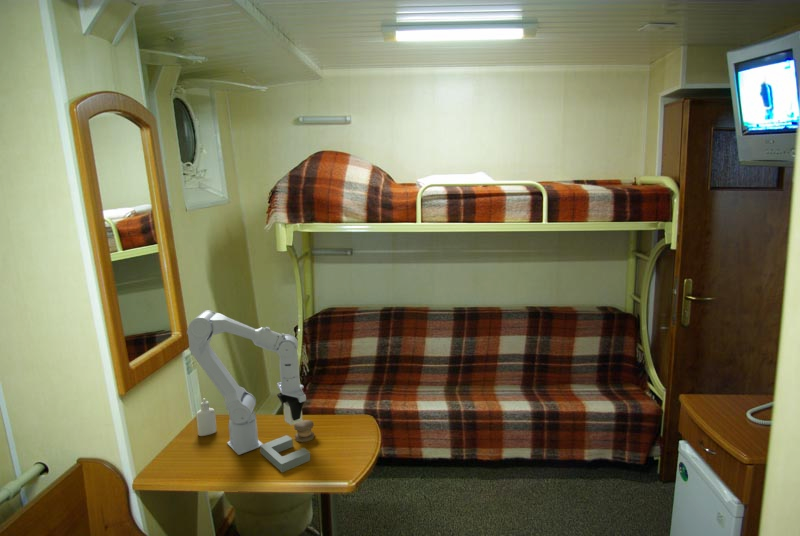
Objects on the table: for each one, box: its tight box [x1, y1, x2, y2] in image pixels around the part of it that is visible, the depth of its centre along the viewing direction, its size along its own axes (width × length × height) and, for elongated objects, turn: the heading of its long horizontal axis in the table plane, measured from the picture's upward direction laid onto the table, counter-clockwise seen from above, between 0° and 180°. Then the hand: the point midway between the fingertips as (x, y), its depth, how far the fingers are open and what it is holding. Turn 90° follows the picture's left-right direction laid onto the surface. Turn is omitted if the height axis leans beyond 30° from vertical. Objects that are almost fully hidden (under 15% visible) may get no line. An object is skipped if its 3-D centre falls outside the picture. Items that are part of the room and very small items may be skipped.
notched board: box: [259, 434, 311, 473], centre depth 144 cm, size 14×9×2 cm, turn 40°
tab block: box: [283, 402, 304, 426], centre depth 151 cm, size 4×4×6 cm
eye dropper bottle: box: [195, 397, 217, 437], centre depth 159 cm, size 4×6×12 cm
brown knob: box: [293, 419, 315, 443], centre depth 154 cm, size 6×6×4 cm
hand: (292, 416), depth 151 cm, fingers closed on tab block, 4 cm apart
